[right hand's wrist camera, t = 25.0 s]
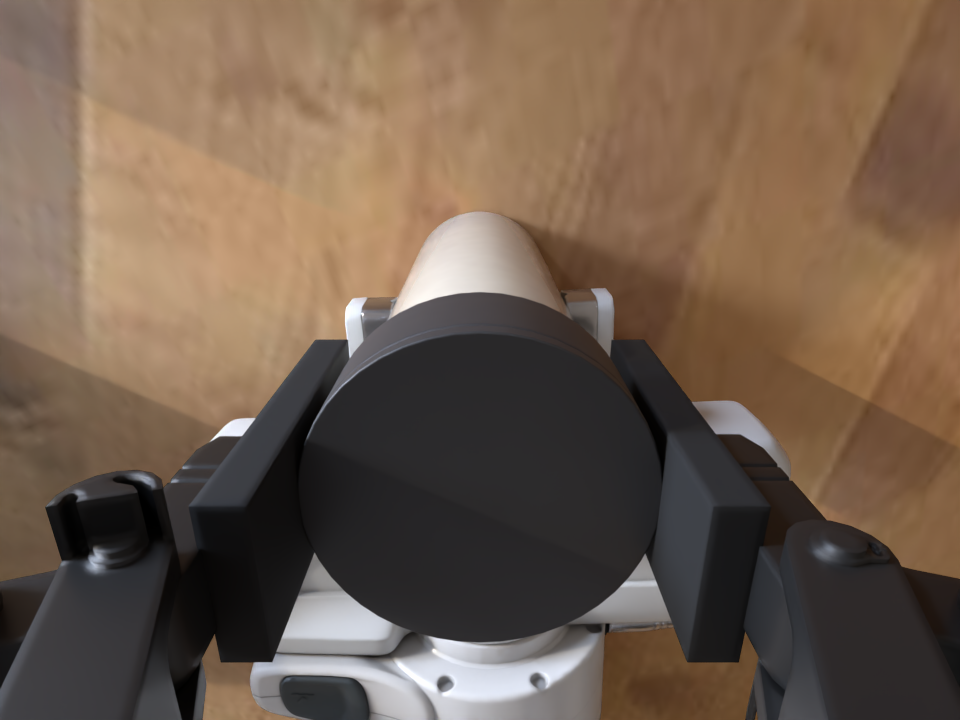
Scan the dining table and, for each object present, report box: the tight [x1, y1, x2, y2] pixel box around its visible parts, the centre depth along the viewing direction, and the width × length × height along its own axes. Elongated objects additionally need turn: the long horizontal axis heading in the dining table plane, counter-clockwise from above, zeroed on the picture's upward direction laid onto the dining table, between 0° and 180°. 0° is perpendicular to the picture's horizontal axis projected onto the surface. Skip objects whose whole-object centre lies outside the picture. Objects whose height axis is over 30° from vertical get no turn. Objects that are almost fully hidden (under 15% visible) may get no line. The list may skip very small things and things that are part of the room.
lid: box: [297, 292, 663, 643], centre depth 11 cm, size 6×6×2 cm
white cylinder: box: [388, 212, 573, 320], centre depth 18 cm, size 5×5×15 cm
